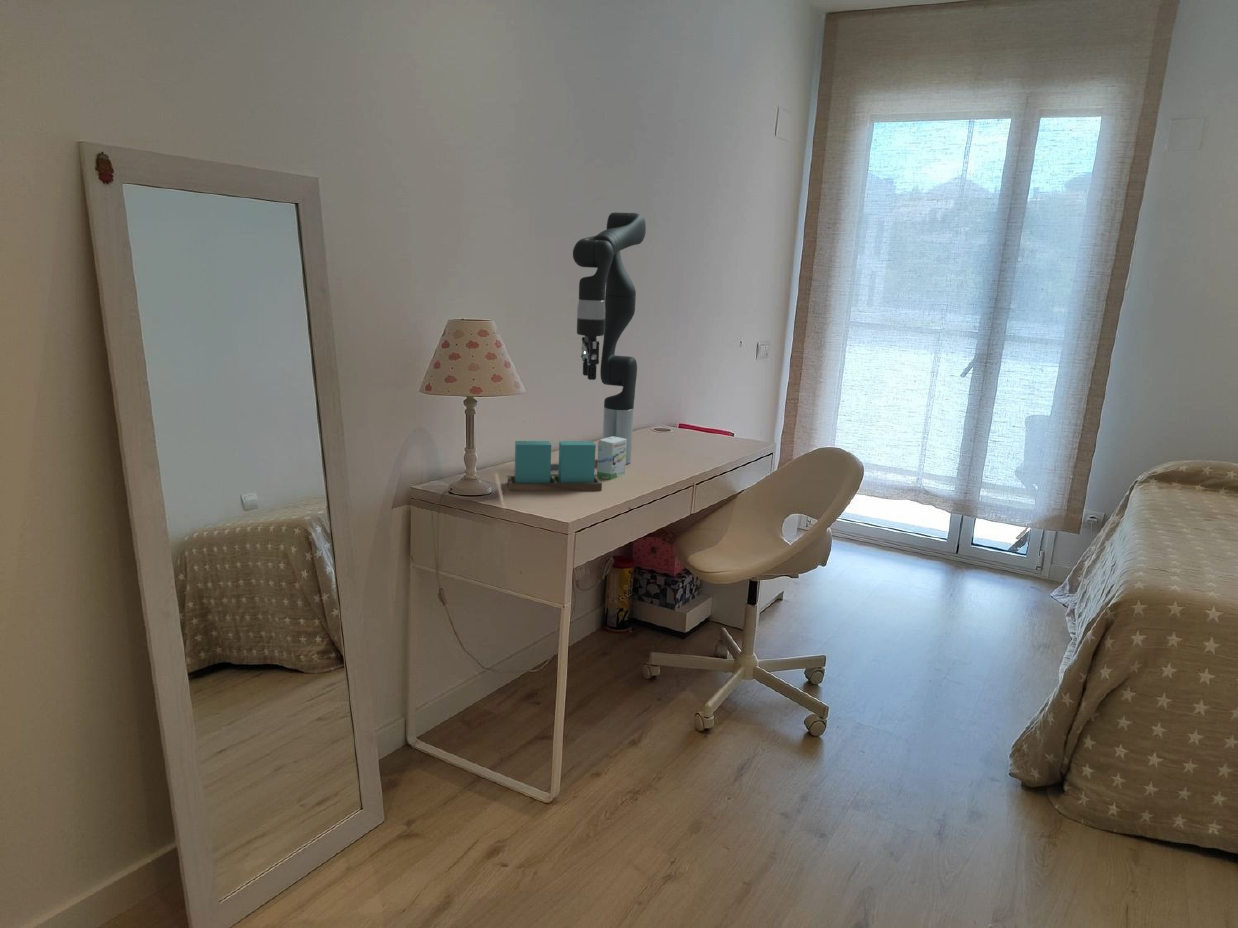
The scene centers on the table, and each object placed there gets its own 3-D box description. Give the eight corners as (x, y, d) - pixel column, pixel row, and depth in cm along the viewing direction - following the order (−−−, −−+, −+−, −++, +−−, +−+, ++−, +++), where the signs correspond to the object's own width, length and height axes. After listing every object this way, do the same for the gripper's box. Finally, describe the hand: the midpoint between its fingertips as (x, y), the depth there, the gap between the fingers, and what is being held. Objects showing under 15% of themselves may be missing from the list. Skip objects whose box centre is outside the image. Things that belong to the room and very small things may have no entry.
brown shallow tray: (507, 486, 217) (507, 475, 216) (595, 485, 222) (596, 475, 221) (509, 494, 209) (509, 483, 208) (601, 494, 214) (601, 483, 213)
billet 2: (558, 484, 218) (559, 441, 215) (590, 484, 219) (592, 441, 217) (560, 489, 213) (561, 445, 210) (593, 488, 215) (595, 445, 212)
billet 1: (514, 484, 215) (515, 440, 212) (547, 484, 217) (549, 441, 214) (516, 489, 210) (516, 444, 208) (550, 489, 212) (551, 444, 210)
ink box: (610, 483, 226) (612, 442, 223) (595, 480, 228) (597, 440, 225) (625, 477, 233) (627, 438, 230) (611, 475, 235) (613, 435, 233)
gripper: (609, 319, 208) (607, 381, 212) (600, 316, 222) (598, 374, 226) (581, 318, 207) (579, 381, 211) (573, 315, 220) (571, 373, 224)
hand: (589, 377), depth 218 cm, fingers open, 8 cm apart
